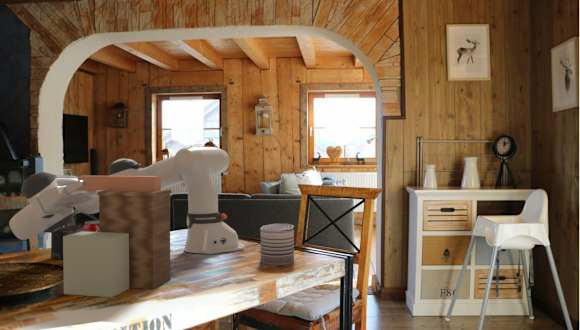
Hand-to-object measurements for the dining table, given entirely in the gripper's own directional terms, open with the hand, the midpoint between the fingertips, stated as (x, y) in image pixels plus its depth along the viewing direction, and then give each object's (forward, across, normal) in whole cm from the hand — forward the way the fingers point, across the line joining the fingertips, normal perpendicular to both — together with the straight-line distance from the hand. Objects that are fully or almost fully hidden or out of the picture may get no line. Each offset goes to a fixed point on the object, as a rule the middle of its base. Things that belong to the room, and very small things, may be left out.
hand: (92, 181), depth 137 cm
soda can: (-29, -24, -16) cm, 41 cm away
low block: (-7, +10, -28) cm, 31 cm away
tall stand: (-3, 0, -31) cm, 31 cm away
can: (+25, -35, -48) cm, 64 cm away
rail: (+6, 0, -6) cm, 9 cm away
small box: (-39, -27, -11) cm, 48 cm away
